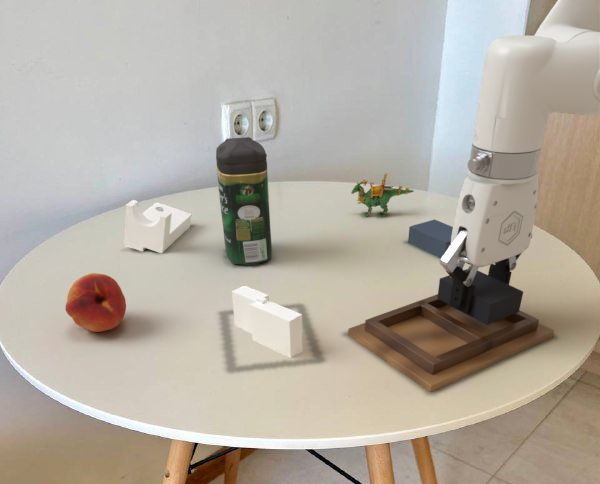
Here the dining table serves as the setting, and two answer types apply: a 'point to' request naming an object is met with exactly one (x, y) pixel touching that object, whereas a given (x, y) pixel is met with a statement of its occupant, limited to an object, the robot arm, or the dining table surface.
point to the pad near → (486, 297)
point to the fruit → (96, 302)
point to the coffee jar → (244, 200)
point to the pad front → (431, 237)
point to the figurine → (377, 195)
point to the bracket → (154, 226)
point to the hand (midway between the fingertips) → (478, 301)
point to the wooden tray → (445, 340)
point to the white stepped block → (267, 321)
